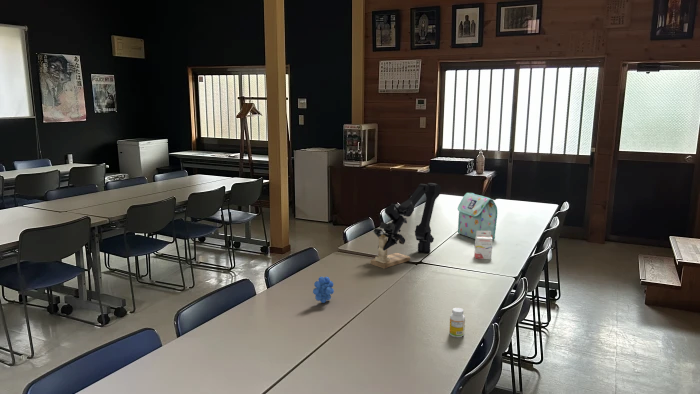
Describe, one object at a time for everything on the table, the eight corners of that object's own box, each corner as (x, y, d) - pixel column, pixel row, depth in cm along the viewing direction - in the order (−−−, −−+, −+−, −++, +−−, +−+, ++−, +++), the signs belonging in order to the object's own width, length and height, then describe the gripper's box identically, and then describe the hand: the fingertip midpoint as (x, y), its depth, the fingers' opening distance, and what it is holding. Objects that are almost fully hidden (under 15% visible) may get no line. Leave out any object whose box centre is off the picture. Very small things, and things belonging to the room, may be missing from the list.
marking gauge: (381, 258, 269) (382, 232, 266) (390, 261, 264) (390, 235, 262) (375, 260, 265) (375, 234, 263) (383, 263, 261) (383, 236, 258)
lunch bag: (454, 233, 326) (455, 192, 321) (474, 230, 333) (476, 190, 328) (477, 242, 306) (479, 198, 301) (498, 239, 313) (501, 196, 308)
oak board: (396, 256, 279) (396, 252, 279) (410, 260, 272) (410, 256, 272) (370, 263, 266) (370, 260, 266) (384, 268, 259) (384, 264, 259)
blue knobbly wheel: (321, 309, 208) (320, 281, 206) (309, 305, 213) (309, 278, 211) (340, 301, 217) (340, 274, 215) (329, 297, 221) (329, 271, 219)
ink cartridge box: (475, 258, 275) (476, 232, 272) (474, 256, 280) (475, 230, 277) (491, 259, 274) (493, 233, 271) (490, 256, 279) (491, 230, 276)
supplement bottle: (453, 329, 190) (454, 305, 189) (466, 334, 187) (468, 309, 185) (446, 334, 186) (447, 310, 184) (459, 339, 183) (461, 313, 181)
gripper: (375, 213, 270) (360, 237, 265) (401, 219, 256) (386, 244, 251) (385, 225, 277) (371, 248, 271) (411, 231, 263) (397, 256, 258)
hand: (381, 249), depth 263 cm, fingers closed on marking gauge, 3 cm apart
